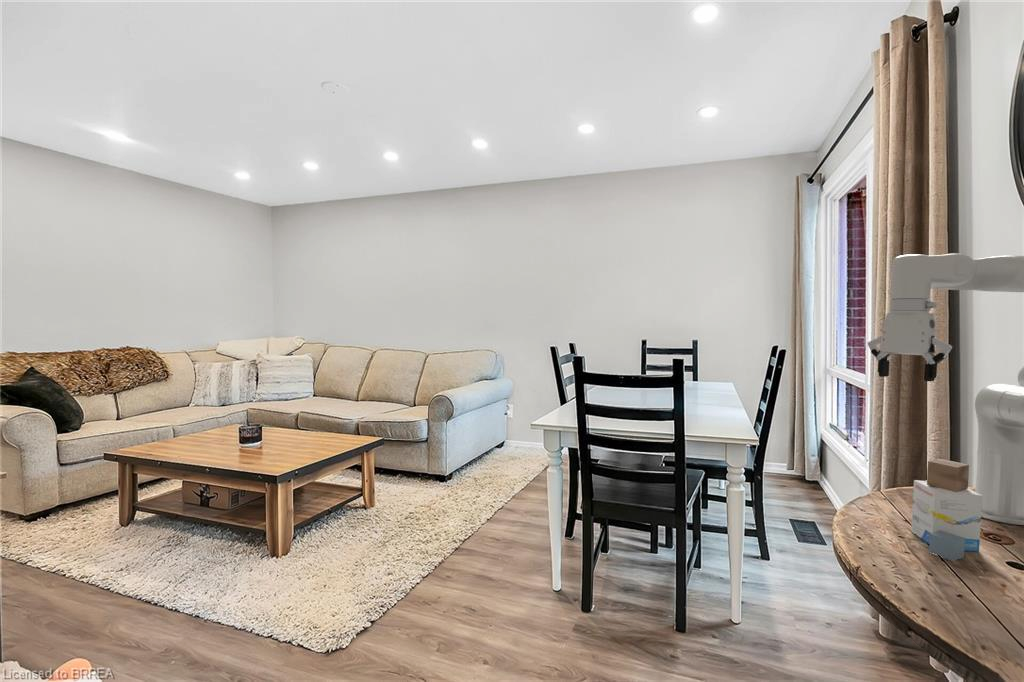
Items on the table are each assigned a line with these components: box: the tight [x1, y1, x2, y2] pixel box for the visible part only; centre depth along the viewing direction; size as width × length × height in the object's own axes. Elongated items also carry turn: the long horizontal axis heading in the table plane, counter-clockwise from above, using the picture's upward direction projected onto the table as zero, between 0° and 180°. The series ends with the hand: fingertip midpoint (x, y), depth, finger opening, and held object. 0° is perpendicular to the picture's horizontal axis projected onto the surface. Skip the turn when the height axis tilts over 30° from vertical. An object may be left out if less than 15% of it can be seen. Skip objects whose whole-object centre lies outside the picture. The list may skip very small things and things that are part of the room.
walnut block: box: [926, 458, 970, 492], centre depth 108 cm, size 5×5×5 cm
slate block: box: [928, 530, 965, 562], centre depth 102 cm, size 4×4×4 cm
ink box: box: [910, 479, 982, 553], centre depth 109 cm, size 9×8×12 cm
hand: (905, 378), depth 125 cm, fingers open, 9 cm apart
